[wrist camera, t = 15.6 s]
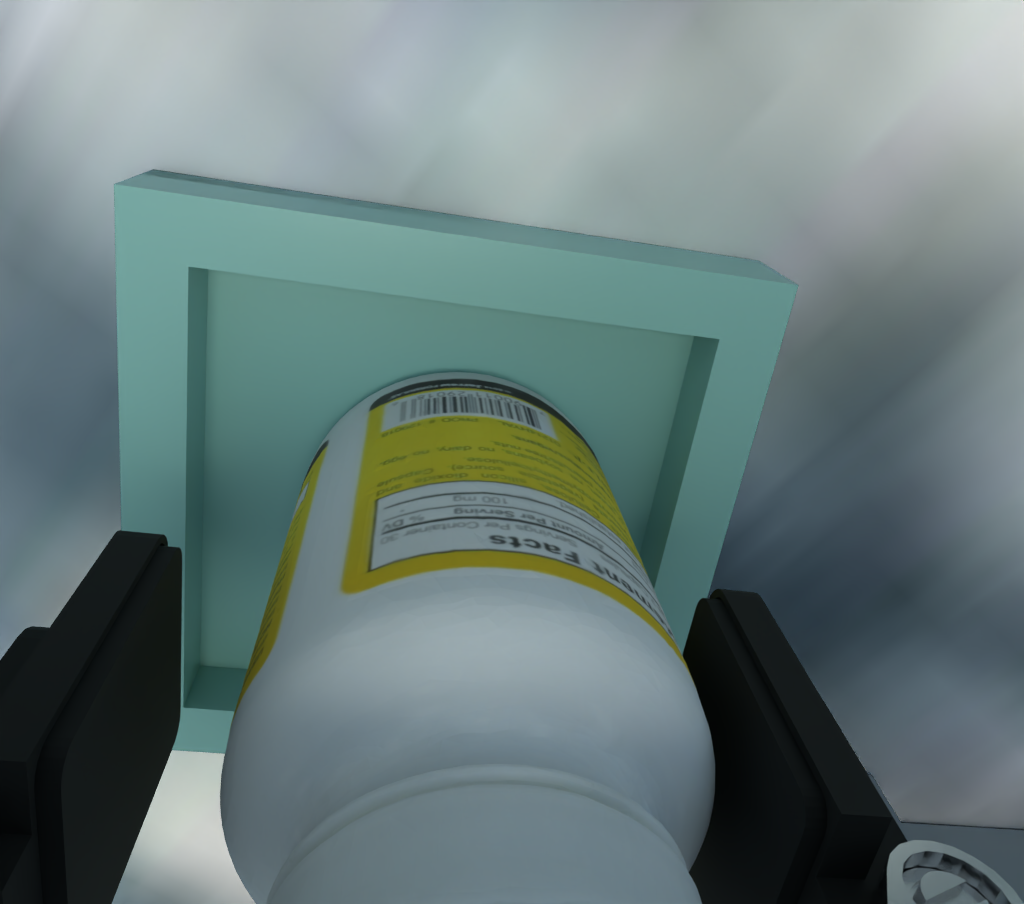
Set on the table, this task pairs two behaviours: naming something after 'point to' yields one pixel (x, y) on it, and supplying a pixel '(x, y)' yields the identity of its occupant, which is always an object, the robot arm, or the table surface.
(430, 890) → the supplement bottle
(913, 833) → the housing
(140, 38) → the table surface
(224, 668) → the tray
